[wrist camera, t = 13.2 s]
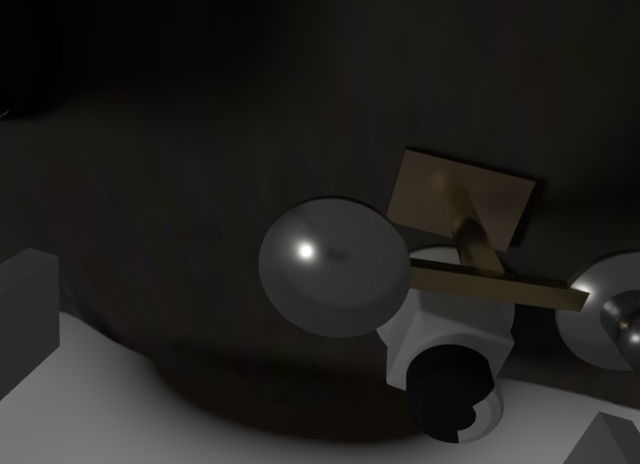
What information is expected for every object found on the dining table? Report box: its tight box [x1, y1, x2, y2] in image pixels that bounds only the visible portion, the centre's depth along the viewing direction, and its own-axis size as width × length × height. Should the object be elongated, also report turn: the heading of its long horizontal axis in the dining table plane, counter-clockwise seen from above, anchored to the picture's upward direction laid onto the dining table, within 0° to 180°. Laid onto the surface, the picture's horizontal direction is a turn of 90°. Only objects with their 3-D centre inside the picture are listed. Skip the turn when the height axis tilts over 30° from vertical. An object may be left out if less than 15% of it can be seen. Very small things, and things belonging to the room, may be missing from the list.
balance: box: [259, 146, 640, 373], centre depth 28 cm, size 22×7×18 cm, turn 77°
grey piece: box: [386, 289, 514, 443], centre depth 34 cm, size 7×7×12 cm
